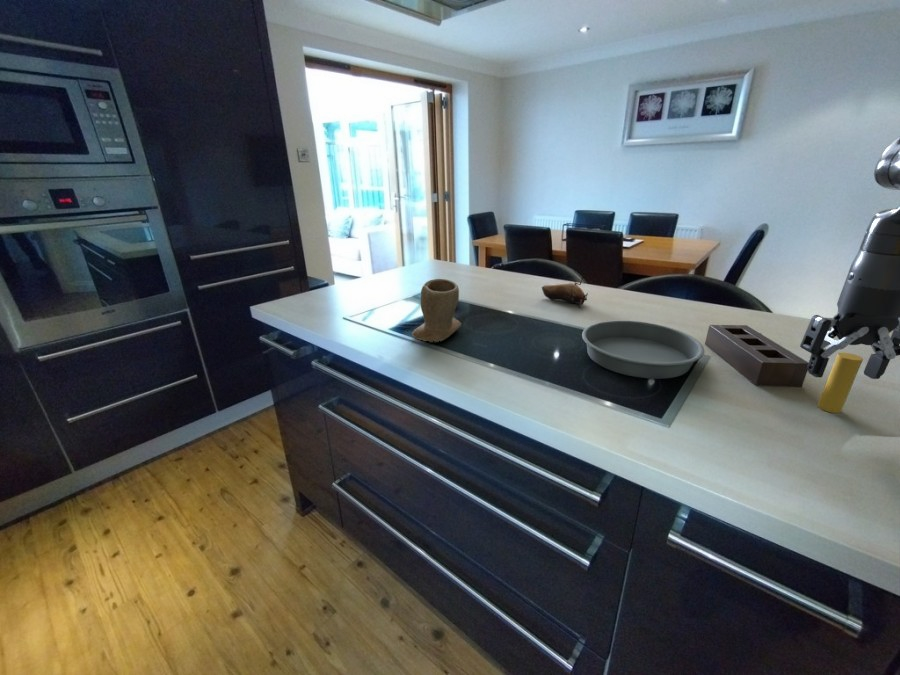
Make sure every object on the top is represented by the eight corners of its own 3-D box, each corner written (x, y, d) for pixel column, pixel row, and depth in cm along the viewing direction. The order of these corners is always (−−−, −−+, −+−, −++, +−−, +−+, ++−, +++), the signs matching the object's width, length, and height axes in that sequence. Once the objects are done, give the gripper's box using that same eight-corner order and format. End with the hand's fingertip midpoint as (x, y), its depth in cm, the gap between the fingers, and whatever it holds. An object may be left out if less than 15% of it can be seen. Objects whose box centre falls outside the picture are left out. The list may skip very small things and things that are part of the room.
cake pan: (656, 396, 73) (660, 375, 71) (557, 351, 92) (559, 334, 90) (723, 362, 84) (728, 343, 83) (623, 329, 104) (625, 313, 102)
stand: (741, 344, 93) (746, 325, 91) (802, 386, 74) (810, 363, 72) (704, 344, 94) (709, 324, 92) (755, 385, 75) (762, 362, 73)
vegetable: (530, 294, 126) (539, 265, 125) (541, 302, 135) (550, 275, 135) (578, 305, 117) (588, 274, 117) (586, 313, 126) (596, 283, 126)
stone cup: (446, 349, 95) (444, 290, 90) (406, 341, 101) (401, 285, 95) (472, 328, 108) (472, 275, 102) (435, 322, 113) (433, 271, 107)
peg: (831, 404, 69) (852, 352, 65) (845, 413, 66) (868, 360, 62) (813, 403, 69) (832, 352, 65) (826, 412, 66) (847, 360, 62)
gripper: (848, 288, 56) (812, 386, 62) (961, 288, 55) (912, 388, 61) (810, 275, 63) (781, 365, 69) (909, 275, 62) (870, 367, 68)
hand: (842, 376), depth 65 cm, fingers open, 8 cm apart
